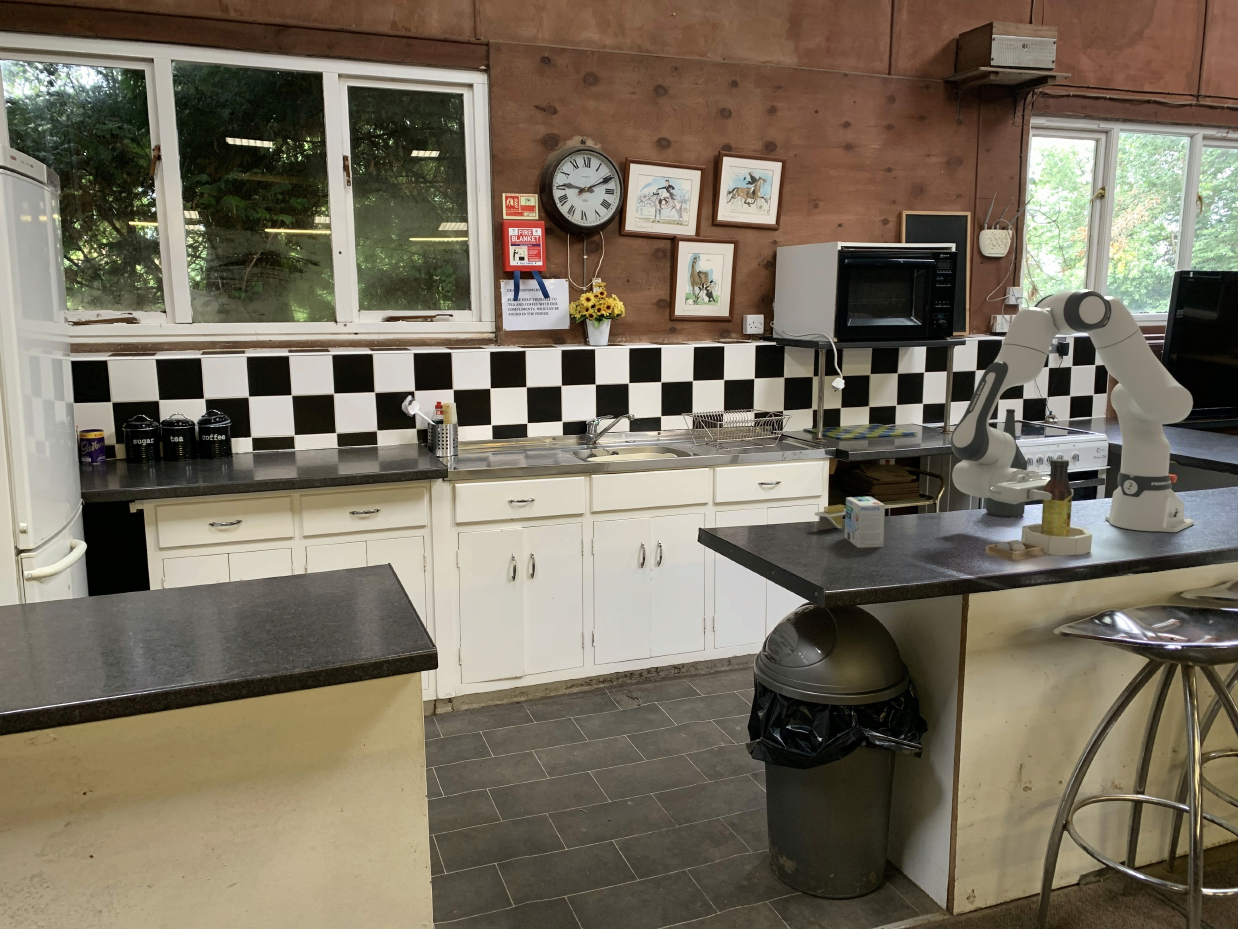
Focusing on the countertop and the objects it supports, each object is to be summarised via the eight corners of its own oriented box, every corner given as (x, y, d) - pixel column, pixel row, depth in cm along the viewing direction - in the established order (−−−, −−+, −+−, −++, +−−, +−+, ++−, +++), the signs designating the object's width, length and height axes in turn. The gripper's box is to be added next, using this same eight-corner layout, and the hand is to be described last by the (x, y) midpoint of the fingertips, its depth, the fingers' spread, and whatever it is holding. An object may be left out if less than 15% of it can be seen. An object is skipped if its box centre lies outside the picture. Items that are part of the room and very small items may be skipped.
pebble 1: (1001, 552, 220) (1002, 540, 220) (1012, 555, 218) (1013, 543, 217) (993, 554, 219) (994, 542, 218) (1004, 557, 216) (1005, 544, 216)
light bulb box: (843, 537, 240) (845, 496, 238) (869, 537, 240) (870, 496, 239) (858, 548, 229) (859, 505, 228) (884, 547, 230) (886, 504, 228)
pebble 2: (1014, 550, 222) (1015, 538, 222) (1026, 553, 220) (1026, 540, 219) (1006, 552, 221) (1007, 539, 220) (1017, 554, 218) (1018, 542, 218)
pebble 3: (1016, 553, 219) (1017, 541, 219) (1028, 556, 216) (1028, 544, 216) (1008, 555, 218) (1009, 543, 217) (1019, 558, 215) (1020, 545, 215)
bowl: (1046, 540, 234) (1048, 521, 233) (1101, 553, 222) (1103, 532, 221) (1009, 548, 227) (1010, 528, 226) (1063, 561, 215) (1065, 540, 214)
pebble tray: (1012, 551, 224) (1013, 540, 224) (1042, 558, 217) (1043, 547, 217) (985, 557, 219) (985, 545, 219) (1014, 565, 212) (1015, 553, 212)
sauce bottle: (1072, 545, 220) (1078, 462, 217) (1043, 544, 222) (1049, 461, 218) (1065, 538, 227) (1071, 458, 223) (1037, 537, 228) (1043, 457, 225)
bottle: (1031, 516, 262) (1038, 409, 257) (1004, 519, 259) (1010, 411, 254) (1005, 509, 272) (1011, 406, 267) (977, 512, 268) (983, 408, 263)
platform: (873, 530, 249) (874, 506, 248) (821, 539, 240) (822, 514, 239) (843, 522, 259) (843, 499, 258) (791, 530, 251) (792, 506, 249)
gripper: (984, 477, 228) (1034, 486, 216) (1037, 469, 238) (1088, 477, 226) (982, 502, 229) (1032, 512, 217) (1036, 493, 239) (1086, 503, 227)
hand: (1061, 494), depth 222 cm, fingers closed on sauce bottle, 6 cm apart
